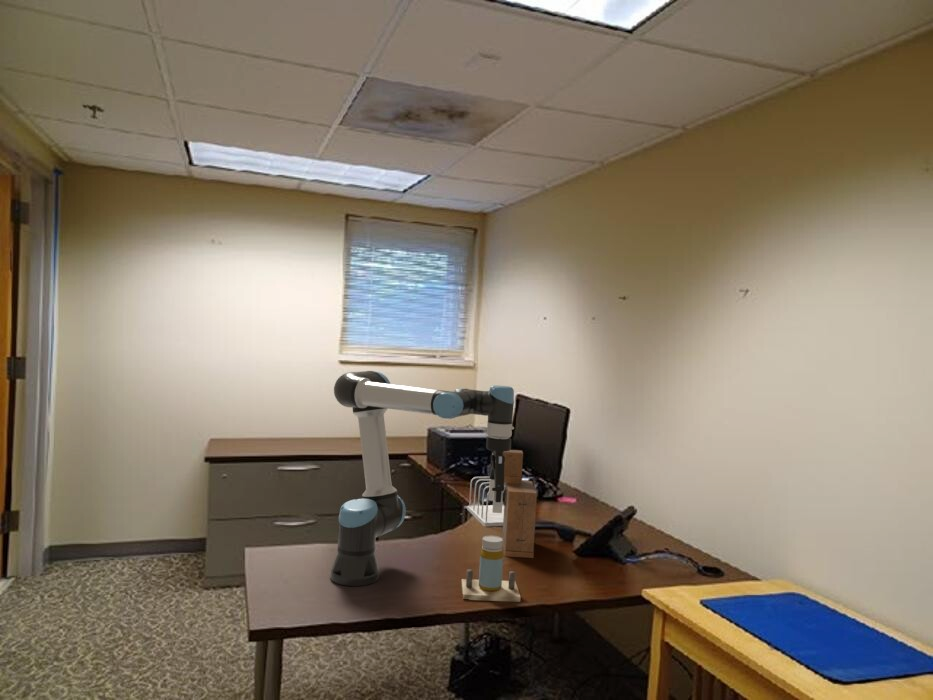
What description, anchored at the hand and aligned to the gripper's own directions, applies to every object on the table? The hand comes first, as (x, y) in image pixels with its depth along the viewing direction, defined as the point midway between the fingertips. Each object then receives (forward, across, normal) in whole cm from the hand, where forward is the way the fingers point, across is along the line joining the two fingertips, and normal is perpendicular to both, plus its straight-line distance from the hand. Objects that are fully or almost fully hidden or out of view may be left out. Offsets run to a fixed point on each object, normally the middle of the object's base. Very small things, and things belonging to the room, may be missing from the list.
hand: (494, 506), depth 193 cm
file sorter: (+27, +81, -9) cm, 86 cm away
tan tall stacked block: (+27, +43, -13) cm, 52 cm away
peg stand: (+26, 0, 0) cm, 26 cm away
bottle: (+25, 0, 0) cm, 25 cm away
